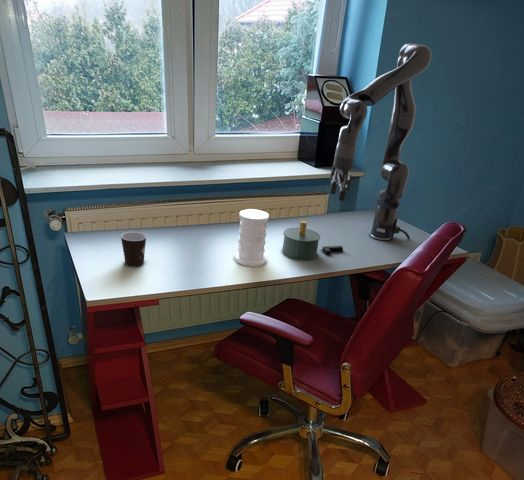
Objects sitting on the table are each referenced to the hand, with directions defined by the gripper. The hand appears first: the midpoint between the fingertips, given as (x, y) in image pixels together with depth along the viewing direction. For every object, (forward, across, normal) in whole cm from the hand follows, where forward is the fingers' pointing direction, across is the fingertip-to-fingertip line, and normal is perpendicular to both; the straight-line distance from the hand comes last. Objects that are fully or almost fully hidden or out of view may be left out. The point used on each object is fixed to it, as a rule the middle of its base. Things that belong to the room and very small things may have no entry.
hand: (336, 197), depth 213 cm
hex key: (+20, -8, +1) cm, 22 cm away
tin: (+21, -8, +16) cm, 27 cm away
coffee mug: (+23, -12, +80) cm, 84 cm away
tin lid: (+13, -8, +16) cm, 22 cm away
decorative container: (+22, -13, +38) cm, 45 cm away
